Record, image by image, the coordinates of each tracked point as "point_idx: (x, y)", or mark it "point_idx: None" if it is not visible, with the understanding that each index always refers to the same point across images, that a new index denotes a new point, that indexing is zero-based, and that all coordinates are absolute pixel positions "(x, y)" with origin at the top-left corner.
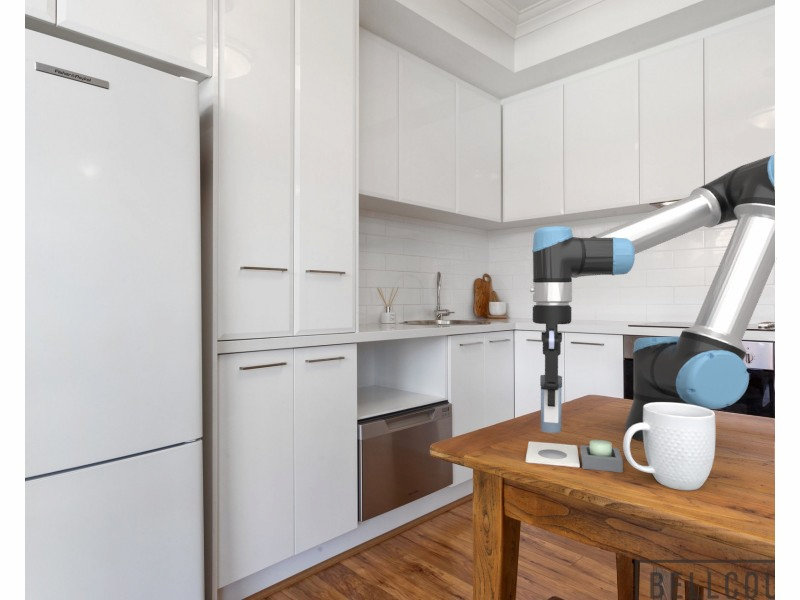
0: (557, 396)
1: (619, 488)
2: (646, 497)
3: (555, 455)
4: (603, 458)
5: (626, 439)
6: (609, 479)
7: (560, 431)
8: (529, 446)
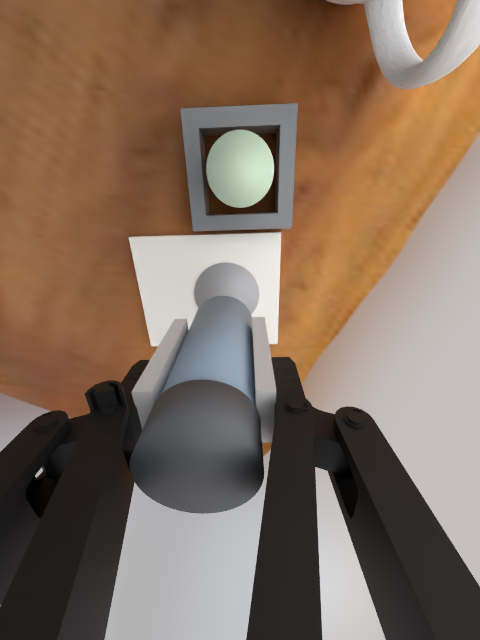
0: (273, 373)
1: (406, 136)
2: (464, 62)
3: (235, 288)
4: (293, 167)
5: (469, 54)
6: (347, 158)
7: (233, 298)
8: None
